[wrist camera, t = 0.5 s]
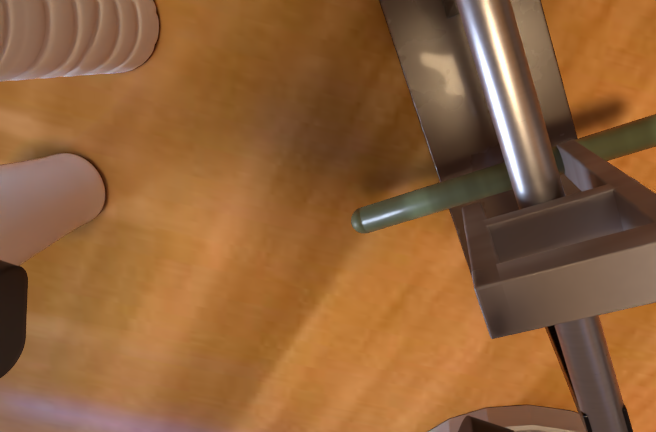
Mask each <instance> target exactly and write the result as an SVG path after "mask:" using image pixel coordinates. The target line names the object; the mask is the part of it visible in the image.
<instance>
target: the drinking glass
mask: <svg viewBox="0 0 656 432" xmlns="http://www.w3.org/2000/svg"><path fill="white" fill-rule="evenodd" d="M104 202H105V187H104V183H103V180H102V178H101V176H100V174H99V173H98V171H97V170H96V168H95V167H94V166H93V165H92V164H91V163H89V162H88V161H87V160H85V159H84V158H82V157H80V156H77V155H74V154H69V153H60V154H55V155H51V156H47V157H44V158H39V159H33V160H27V161H21V162H15V163H9V164H3V165H0V260H2V261H5V262H8V263H11V264H14V265H17V266H20V265H21V264H23V263H24V262H26V261H27V260H29V259H30V258H32V257H33V256H35V255H36V254H38V253H39V252H41V251H42V250H44V249H45V248H47V247H48V246H50V245H51V244H53V243H55V242H56V241H58V240H59V239H61V238H62V237H64V236H65V235H67V234H68V233H70V232H72V231H73V230H75V229H76V228H78V227H80V226H82V225H84V224H86V223H88V222H90V221H91V220H93V219H94V218H95V217H96V216H97V215H98V214H99V213H100V212H101V210H102V208H103V205H104Z"/></svg>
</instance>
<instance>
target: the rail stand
mask: <svg viewBox="0 0 656 432" xmlns="http://www.w3.org/2000/svg"><path fill="white" fill-rule="evenodd" d="M379 1H380V4H381V7H382V10H383V13H384V16H385V19H386V22H387V25H388V28H389V31H390V34H391V37H392V40H393V43H394V46H395V49H396V52H397V55H398V58H399V61H400V64H401V67H402V70H403V73H404V76H405V79H406V82H407V85H408V88H409V90H410V93H411V96H412V99H413V102H414V105H415V108H416V111H417V114H418V117H419V120H420V123H421V126H422V129H423V132H424V135H425V138H426V141H427V144H428V147H429V150H430V153H431V156H432V159H433V162H434V165H435V168H436V171H437V174H438V177H439V180H440V182H443V181H446V180H449V179H453V178H456V177H459V176H462V175H465V174H468V173H471V172H475V171H478V170H481V169H484V168H487V167H490V166H494V165H497V164H500V163H503V162H505V164H506V167H507V171H508V174H509V177H510V181H511V184H512V187H513V189H512V190H509V191H506V192H502V193H499V194H496V195H492V196H489V197H486V198H483V199H479V200H476V201H473V202H469V203H466V204H463V205H459V206H456V207H453V208H449V210H450V213H451V216H452V219H453V222H454V225H455V228H456V230H457V233H458V236H459V239H460V242H461V245H462V248H463V251H464V254H465V257H466V260H467V263H468V266H469V269H470V272H471V275H472V270H471V264H470V258H469V252H468V245H467V239H466V233H465V228H464V221H463V214H462V208H463V207H465V206H468V205H471V204H475V203H478V202H481V203H482V206H483V209H484V212H485V216H486V219H489V218H492V217H496V216H499V215H503V214H506V213H510V212H513V211H517V210H520V209H524V208H527V207H530V206H534V205H537V204H541V203H544V202H548V201H551V200H555V199H558V198H561V197H565V196H568V195H572V194H575V193H579V192H582V191H581V190H580V189H579V188H578V187H577V186H576V185H575V184H574V183H573V182H572V181H571V180H570V179H569V178H568V177H567V176H566V175H565V174H562V175H559V172H558V169H557V165H556V161H555V158H554V154H553V151H552V147H553V146H557V144H559V143H562V142H565V141H568V140H571V139H574V140H576V139H578V138H577V135H576V131H575V127H574V123H573V120H572V116H571V112H570V108H569V105H568V101H567V97H566V94H565V90H564V86H563V82H562V79H561V75H560V71H559V67H558V64H557V60H556V56H555V53H554V49H553V45H552V41H551V38H550V34H549V30H548V26H547V23H546V19H545V15H544V12H543V8H542V4H541V0H379ZM545 328H546V331H547V333H548V336H549V338H550V341H551V343H552V346H553V349H554V351H555V354H556V356H557V359H558V361H559V364H560V366H561V369H562V371H563V374H564V377H565V379H566V382H567V384H568V387H569V389H570V392H571V394H572V397H573V400H574V402H575V405H576V407H577V410H578V412H579V415H580V417H581V420H582V422H583V425H584V428H585V430H586V432H633V430H632V427H631V423H630V419H629V416H628V412H627V409H626V407H625V405H624V403H623V400H622V396H621V393H620V389H619V386H618V382H617V379H616V375H615V371H614V368H613V364H612V361H611V357H610V354H609V350H608V346H607V343H606V339H605V336H604V332H603V329H602V325H601V322H600V318H599V315H597V316H592V317H588V318H583V319H579V320H574V321H570V322H566V323H561V324H557V325H552V326H548V327H545Z"/></svg>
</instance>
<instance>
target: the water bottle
mask: <svg viewBox="0 0 656 432" xmlns="http://www.w3.org/2000/svg"><path fill="white" fill-rule="evenodd" d="M158 33H159V20H158V16H157V14H156V6H155V3H154V1H153V0H0V81H7V80H28V79H35V78H54V77H61V76H62V77H68V76H78V75H95V74H111V73H122V72H127V71H131V70H133V69H135V68H136V67H138V66H140V65H142V64H143V63H144V62H145V61H146V60H147V59H148V58H149V57H150V55H151V54H152V52H153V50H154V45H155V43H156V42H157V39H158Z"/></svg>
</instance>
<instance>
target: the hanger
mask: <svg viewBox="0 0 656 432" xmlns="http://www.w3.org/2000/svg"><path fill="white" fill-rule="evenodd" d="M655 146H656V114H654V115H651V116H648V117H645V118H642V119H639V120H635V121H632V122H629V123H626V124H623V125H620V126H616V127H613V128H610V129H607V130H604V131H601V132H598V133H594V134H591V135H588V136H585V137H582V138H579V139H576V140H574V139H571V140H568V141H565V142H562V143H559V144H557V146H553V147H552V151H553V154H554V158H555V161H556V165H557V169H558V172H559V175H562V174H565V175H566V176H567V177H568V178H569V179H570V180H571V181H572V182H573V183H574V184H575V185H576V186H577V187H578V188H579V189H580V190H581V191H582V192H579V193H575V194H572V195H568V196H565V197H561V198H558V199H555V200H551V201H548V202H544V203H541V204H537V205H534V206H530V207H527V208H524V209H520V210H517V211H513V212H510V213H506V214H503V215H499V216H496V217H492V218H489V219H486V216H485V212H484V209H483V206H482V203H481V202H478V203H475V204H471V205H468V206H465V207H463V208H462V214H463V221H464V228H465V233H466V239H467V245H468V252H469V258H470V264H471V270H472V278H473V284H474V290H475V293H476V296H477V299H478V302H479V304H480V307H481V310H482V313H483V316H484V319H485V322H486V325H487V328H488V331H489V334H490V337H491V338H492V339H494V338H499V337H503V336H508V335H512V334H516V333H521V332H525V331H530V330H534V329H539V328H543V327H548V326H552V325H557V324H561V323H566V322H570V321H574V320H579V319H583V318H588V317H592V316H597V315H601V314H606V313H610V312H615V311H619V310H624V309H628V308H632V307H637V306H641V305H646V304H650V303H655V302H656V194H655V193H654V192H652V191H651V190H649V189H648V188H646V187H645V186H643V185H642V184H640V183H639V182H638V181H636V180H635V179H633V178H631V177H630V176H628V175H627V174H625V173H623V172H622V171H620V170H619V169H617V168H616V167H614V166H613V165H611V164H610V163H608V162H607V161H609V160H612V159H615V158H619V157H622V156H625V155H629V154H632V153H635V152H639V151H642V150H645V149H648V148H652V147H655ZM512 189H513V187H512V184H511V181H510V177H509V174H508V171H507V167H506V164H505V162H503V163H500V164H497V165H494V166H490V167H487V168H484V169H481V170H478V171H475V172H471V173H468V174H465V175H462V176H459V177H456V178H453V179H449V180H446V181H443V182H440V183H437V184H434V185H431V186H427V187H424V188H421V189H418V190H415V191H412V192H408V193H405V194H402V195H399V196H396V197H393V198H390V199H386V200H383V201H380V202H377V203H374V204H371V205H367V206H364V207H361V208H359V209H357V210H356V211H355V212H354V213H353V214H352V217H351V224H352V226H353V228H354V229H355V230H356V231H357V232H359V233H370V232H373V231H376V230H380V229H383V228H386V227H390V226H393V225H396V224H400V223H403V222H406V221H410V220H413V219H416V218H419V217H423V216H426V215H429V214H433V213H436V212H439V211H443V210H446V209H449V208H453V207H456V206H459V205H463V204H466V203H469V202H473V201H476V200H479V199H483V198H486V197H489V196H492V195H496V194H499V193H502V192H506V191H509V190H512Z"/></svg>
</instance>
